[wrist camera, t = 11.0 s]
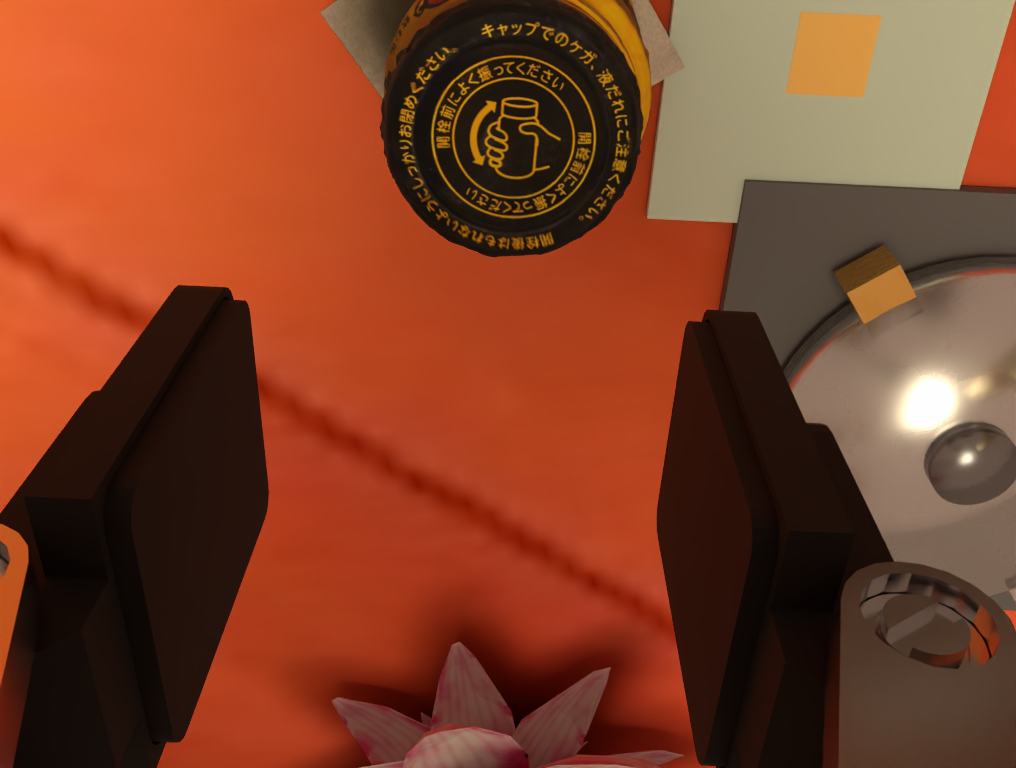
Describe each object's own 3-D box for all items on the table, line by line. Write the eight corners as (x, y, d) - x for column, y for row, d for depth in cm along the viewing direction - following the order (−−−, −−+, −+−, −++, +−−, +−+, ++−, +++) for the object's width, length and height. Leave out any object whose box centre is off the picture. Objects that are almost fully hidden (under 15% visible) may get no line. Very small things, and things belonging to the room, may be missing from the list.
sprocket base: (1093, 604, 41) (1100, 614, 41) (671, 585, 41) (672, 595, 41) (1287, 201, 32) (1299, 207, 31) (742, 175, 32) (745, 181, 31)
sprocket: (1285, 336, 33) (1469, 465, 27) (966, 644, 41) (1049, 802, 35) (928, 142, 30) (1038, 236, 24) (655, 516, 38) (682, 665, 31)
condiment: (684, 65, 30) (745, 197, 19) (457, 205, 32) (403, 387, 22) (560, -165, 27) (552, -154, 16) (321, 10, 29) (185, 114, 19)
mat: (942, 228, 33) (946, 232, 32) (646, 214, 33) (647, 218, 32) (1050, -143, 27) (1057, -143, 27) (692, -161, 27) (694, -161, 26)
